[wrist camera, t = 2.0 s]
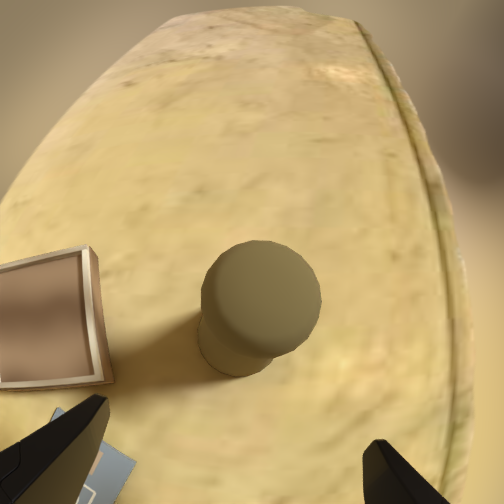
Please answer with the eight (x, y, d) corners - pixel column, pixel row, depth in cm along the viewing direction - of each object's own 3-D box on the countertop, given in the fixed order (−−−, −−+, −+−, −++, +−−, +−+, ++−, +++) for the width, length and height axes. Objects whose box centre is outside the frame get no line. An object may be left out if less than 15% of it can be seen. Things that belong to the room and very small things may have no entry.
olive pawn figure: (182, 353, 20) (158, 320, 10) (220, 283, 23) (232, 196, 13) (260, 390, 20) (311, 390, 10) (292, 317, 22) (357, 256, 13)
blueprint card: (92, 541, 11) (90, 542, 11) (22, 489, 12) (20, 490, 12) (136, 461, 16) (135, 463, 15) (59, 407, 16) (57, 407, 16)
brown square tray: (114, 382, 18) (103, 381, 16) (11, 391, 16) (-7, 389, 13) (98, 257, 22) (87, 242, 20) (5, 277, 20) (-10, 266, 17)
